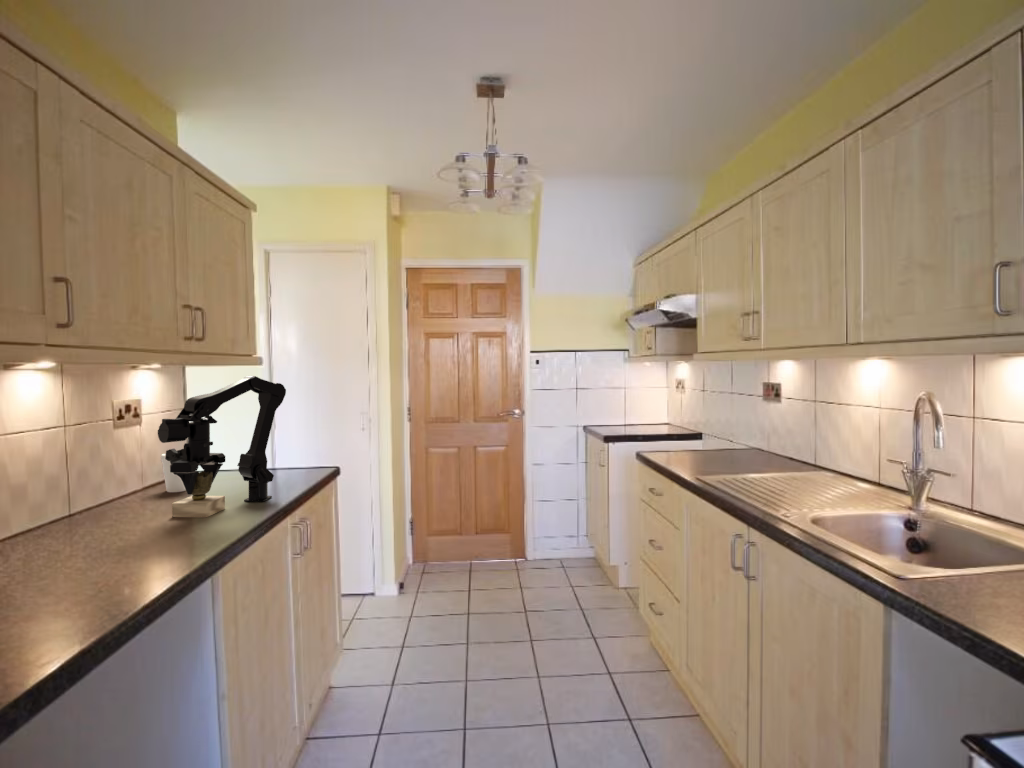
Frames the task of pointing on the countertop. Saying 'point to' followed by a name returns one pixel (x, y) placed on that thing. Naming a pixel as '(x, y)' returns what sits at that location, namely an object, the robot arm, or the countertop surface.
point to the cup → (202, 485)
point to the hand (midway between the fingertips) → (199, 490)
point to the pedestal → (198, 507)
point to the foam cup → (171, 477)
